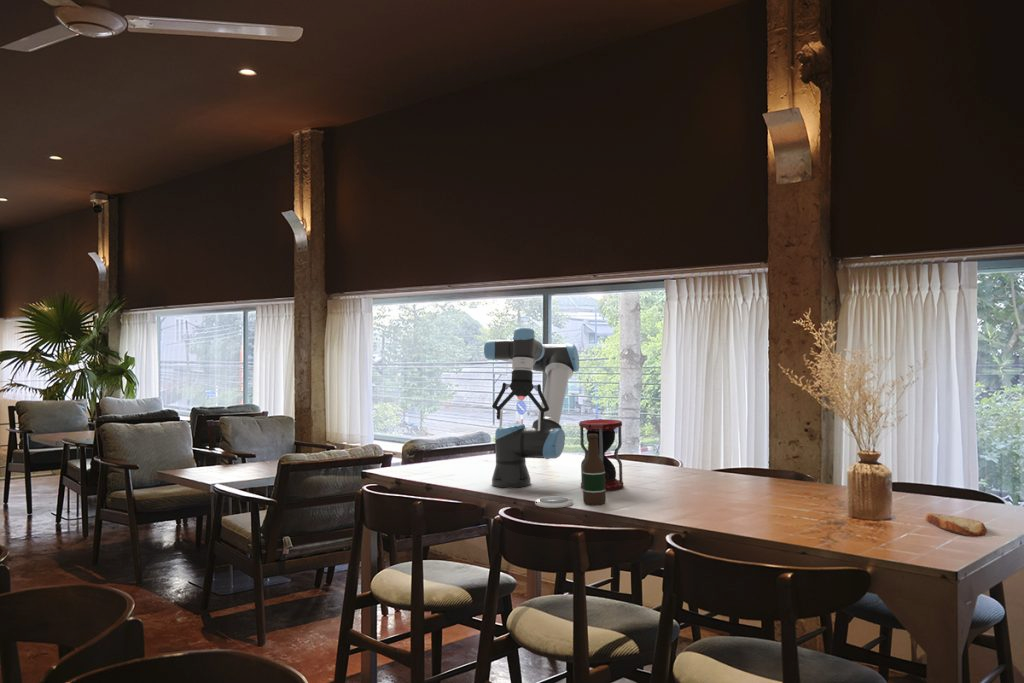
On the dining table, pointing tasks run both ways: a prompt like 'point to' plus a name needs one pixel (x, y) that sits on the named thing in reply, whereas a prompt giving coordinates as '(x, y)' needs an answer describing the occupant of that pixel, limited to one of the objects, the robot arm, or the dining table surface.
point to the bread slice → (957, 524)
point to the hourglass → (604, 448)
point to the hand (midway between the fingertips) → (519, 429)
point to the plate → (554, 502)
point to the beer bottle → (593, 474)
